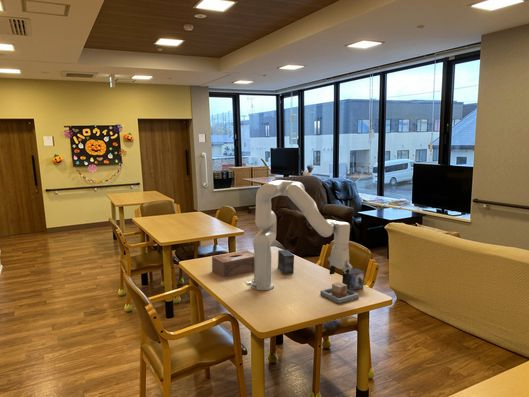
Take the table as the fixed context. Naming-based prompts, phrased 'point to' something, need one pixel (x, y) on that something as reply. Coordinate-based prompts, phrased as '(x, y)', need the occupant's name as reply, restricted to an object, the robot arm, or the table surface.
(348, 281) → the small box
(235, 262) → the tissue box cover
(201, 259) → the table surface
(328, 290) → the tray
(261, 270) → the robot arm
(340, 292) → the block
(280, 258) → the small box
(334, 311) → the table surface
